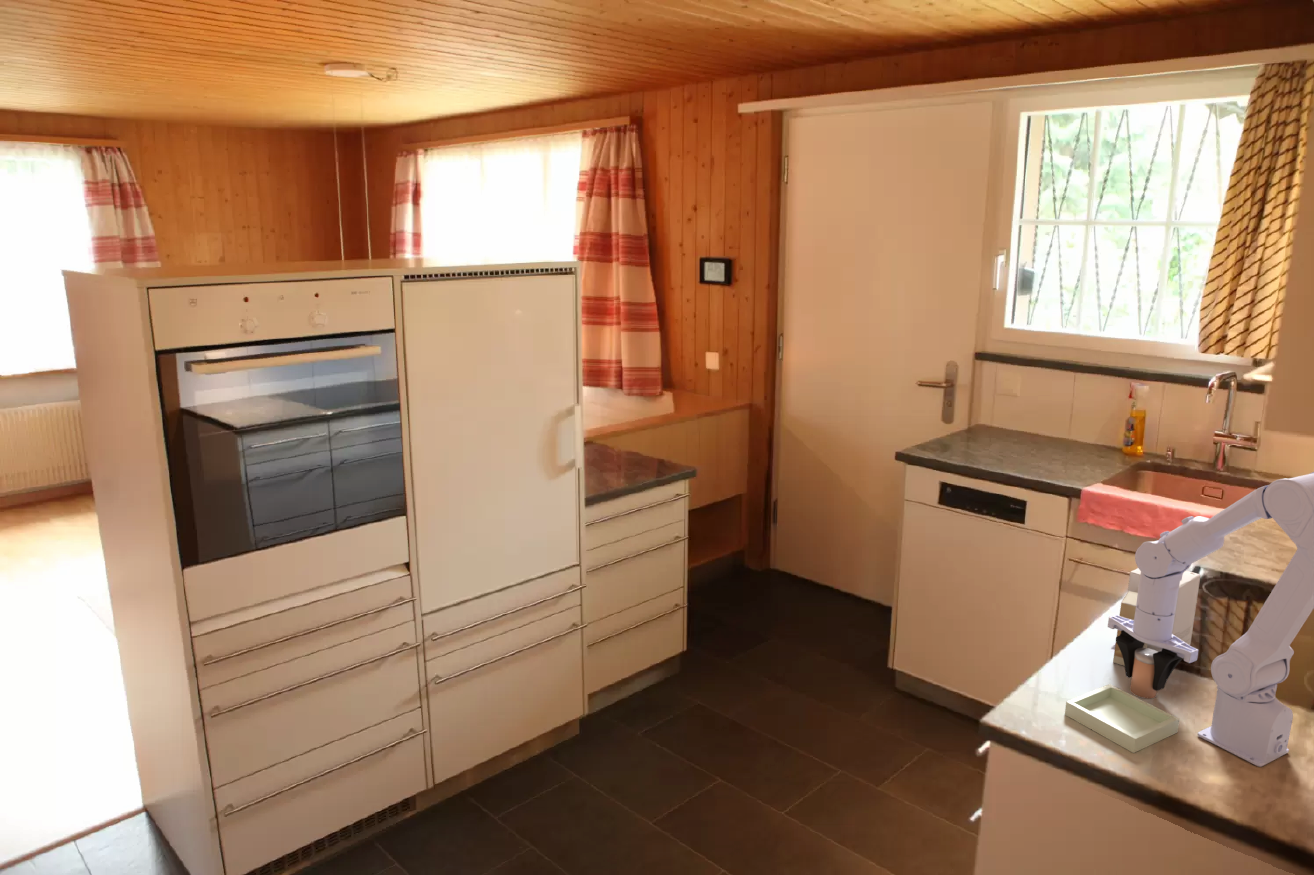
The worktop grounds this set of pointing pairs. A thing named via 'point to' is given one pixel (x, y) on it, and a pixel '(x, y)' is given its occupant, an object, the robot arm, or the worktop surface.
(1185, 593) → the supplement box
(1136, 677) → the shaker
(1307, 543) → the robot arm
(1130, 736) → the tray
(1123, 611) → the skincare box
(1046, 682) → the worktop surface
